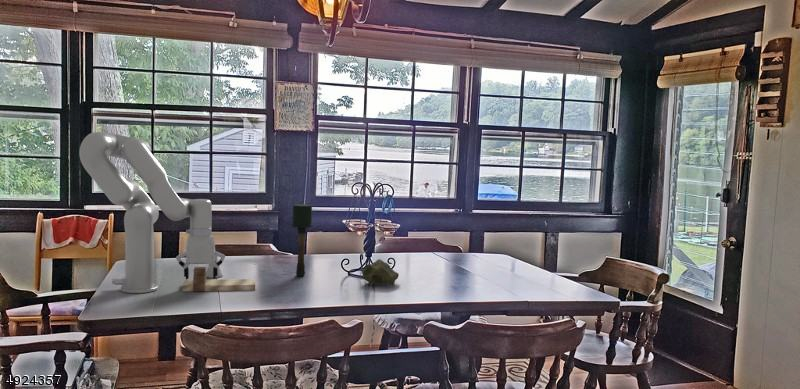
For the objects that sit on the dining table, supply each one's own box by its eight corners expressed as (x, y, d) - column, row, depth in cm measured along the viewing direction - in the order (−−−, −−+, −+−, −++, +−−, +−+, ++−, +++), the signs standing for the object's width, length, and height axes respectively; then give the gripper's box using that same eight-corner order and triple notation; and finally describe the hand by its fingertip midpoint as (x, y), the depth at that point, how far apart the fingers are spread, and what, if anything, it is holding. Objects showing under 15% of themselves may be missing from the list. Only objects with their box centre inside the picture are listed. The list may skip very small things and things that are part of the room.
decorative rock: (407, 284, 247) (408, 260, 246) (384, 290, 234) (385, 265, 233) (378, 278, 256) (379, 255, 255) (354, 284, 242) (355, 260, 242)
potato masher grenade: (314, 275, 257) (316, 205, 254) (303, 278, 249) (305, 206, 247) (297, 272, 260) (299, 203, 258) (286, 276, 252) (288, 205, 250)
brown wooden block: (193, 291, 219) (193, 270, 219) (196, 282, 233) (196, 263, 232) (204, 291, 220) (204, 270, 220) (206, 282, 234) (207, 263, 233)
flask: (220, 278, 243) (220, 254, 242) (202, 278, 243) (202, 253, 242) (225, 275, 250) (225, 251, 250) (207, 274, 250) (208, 250, 249)
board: (181, 291, 220) (181, 285, 220) (184, 285, 230) (184, 279, 229) (255, 290, 227) (255, 284, 226) (254, 284, 236) (254, 278, 236)
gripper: (174, 234, 217) (175, 281, 218) (224, 233, 221) (224, 279, 222) (177, 231, 224) (177, 276, 225) (225, 231, 228) (225, 275, 230)
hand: (200, 278), depth 224 cm, fingers open, 9 cm apart
